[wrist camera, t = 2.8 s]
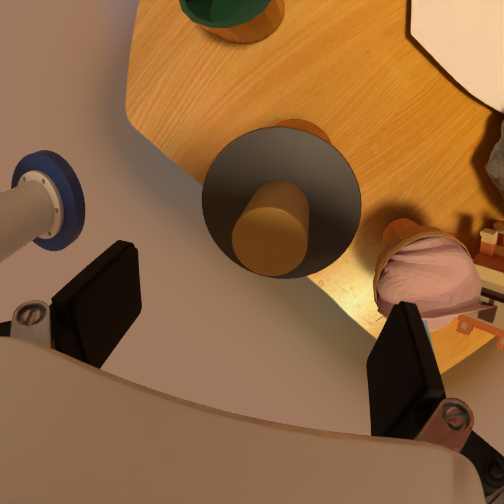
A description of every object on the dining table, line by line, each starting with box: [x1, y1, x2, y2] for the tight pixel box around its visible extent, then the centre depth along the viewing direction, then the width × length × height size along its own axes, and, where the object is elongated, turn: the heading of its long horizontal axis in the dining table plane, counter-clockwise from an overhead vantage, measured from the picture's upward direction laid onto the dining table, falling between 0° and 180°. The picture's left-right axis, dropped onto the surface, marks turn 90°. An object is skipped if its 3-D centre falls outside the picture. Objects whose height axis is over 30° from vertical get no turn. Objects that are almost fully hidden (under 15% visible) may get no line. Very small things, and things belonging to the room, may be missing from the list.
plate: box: [411, 0, 504, 114], centre depth 21 cm, size 23×23×2 cm
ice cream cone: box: [373, 218, 497, 353], centre depth 29 cm, size 11×11×20 cm
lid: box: [202, 126, 361, 279], centre depth 18 cm, size 10×10×6 cm
